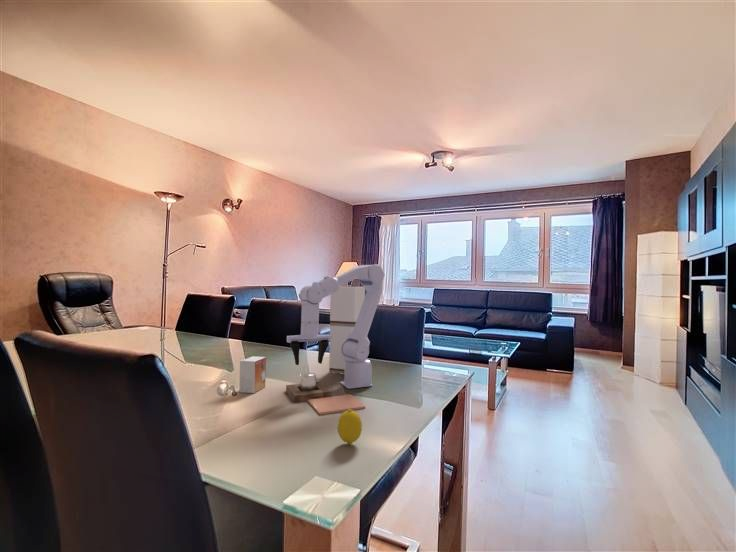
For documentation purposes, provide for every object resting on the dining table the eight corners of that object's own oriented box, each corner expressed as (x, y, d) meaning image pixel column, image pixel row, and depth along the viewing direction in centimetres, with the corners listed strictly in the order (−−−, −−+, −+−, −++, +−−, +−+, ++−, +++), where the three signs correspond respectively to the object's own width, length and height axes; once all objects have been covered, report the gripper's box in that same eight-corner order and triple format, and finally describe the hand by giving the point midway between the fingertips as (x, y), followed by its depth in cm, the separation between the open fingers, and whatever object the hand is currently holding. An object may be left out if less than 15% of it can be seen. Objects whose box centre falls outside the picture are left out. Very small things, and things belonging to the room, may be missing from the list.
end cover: (313, 391, 122) (313, 372, 122) (317, 395, 118) (317, 375, 118) (299, 393, 120) (299, 373, 120) (302, 397, 116) (303, 377, 116)
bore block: (320, 387, 127) (320, 381, 127) (331, 397, 116) (331, 391, 116) (286, 391, 122) (286, 385, 122) (294, 402, 111) (294, 395, 111)
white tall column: (353, 375, 143) (354, 286, 144) (329, 372, 147) (330, 286, 148) (363, 369, 154) (365, 286, 155) (341, 366, 158) (342, 286, 158)
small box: (254, 393, 119) (254, 361, 119) (238, 392, 120) (239, 360, 120) (266, 386, 127) (266, 356, 127) (251, 385, 128) (251, 355, 128)
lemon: (337, 439, 86) (337, 405, 86) (360, 438, 86) (361, 405, 86) (337, 450, 80) (337, 414, 80) (362, 449, 81) (362, 413, 81)
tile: (350, 396, 118) (350, 394, 118) (365, 408, 107) (365, 406, 107) (308, 401, 112) (308, 399, 112) (319, 414, 101) (319, 412, 101)
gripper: (290, 323, 113) (288, 367, 113) (334, 323, 119) (333, 364, 119) (286, 321, 120) (284, 363, 119) (328, 320, 125) (326, 360, 125)
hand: (308, 363), depth 119 cm, fingers open, 7 cm apart
